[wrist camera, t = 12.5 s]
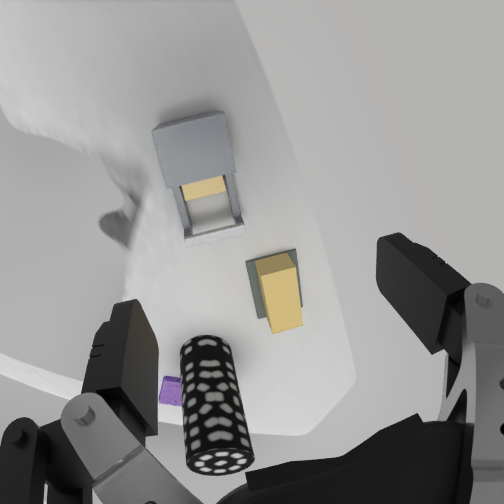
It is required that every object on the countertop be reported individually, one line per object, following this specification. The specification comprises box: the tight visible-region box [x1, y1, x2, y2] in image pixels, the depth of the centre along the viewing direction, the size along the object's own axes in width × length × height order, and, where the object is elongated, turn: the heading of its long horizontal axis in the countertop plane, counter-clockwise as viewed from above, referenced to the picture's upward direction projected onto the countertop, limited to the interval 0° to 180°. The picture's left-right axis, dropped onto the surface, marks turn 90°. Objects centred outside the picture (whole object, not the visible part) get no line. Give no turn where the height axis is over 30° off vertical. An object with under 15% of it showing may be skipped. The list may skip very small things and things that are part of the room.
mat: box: [246, 249, 303, 319], centre depth 47 cm, size 10×7×1 cm
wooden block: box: [255, 253, 303, 334], centre depth 45 cm, size 10×4×4 cm, turn 11°
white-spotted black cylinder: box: [180, 335, 255, 476], centre depth 42 cm, size 8×8×20 cm
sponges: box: [159, 376, 182, 406], centre depth 54 cm, size 7×13×2 cm, turn 69°
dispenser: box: [152, 111, 246, 247], centre depth 34 cm, size 14×7×7 cm, turn 10°
